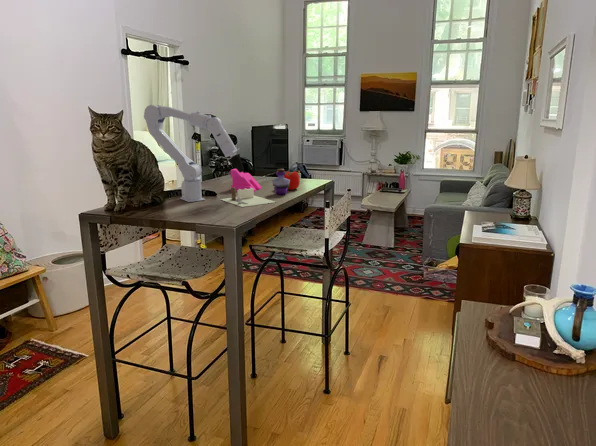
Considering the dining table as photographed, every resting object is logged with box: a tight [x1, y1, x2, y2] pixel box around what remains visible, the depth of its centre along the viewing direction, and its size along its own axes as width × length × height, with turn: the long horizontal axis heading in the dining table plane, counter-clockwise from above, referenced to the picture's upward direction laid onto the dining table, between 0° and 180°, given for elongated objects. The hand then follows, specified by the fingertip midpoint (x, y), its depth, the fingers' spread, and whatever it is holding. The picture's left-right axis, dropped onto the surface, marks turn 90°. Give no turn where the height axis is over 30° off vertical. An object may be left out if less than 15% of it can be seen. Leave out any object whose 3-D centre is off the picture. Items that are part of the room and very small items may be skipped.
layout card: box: [219, 194, 276, 208], centre depth 197 cm, size 19×17×1 cm
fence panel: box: [236, 188, 255, 199], centre depth 201 cm, size 8×1×4 cm, turn 127°
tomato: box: [284, 171, 301, 191], centre depth 226 cm, size 11×12×9 cm
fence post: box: [230, 187, 237, 200], centre depth 197 cm, size 2×2×6 cm
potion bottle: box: [271, 168, 290, 196], centre depth 212 cm, size 9×9×12 cm
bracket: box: [230, 168, 263, 193], centre depth 224 cm, size 12×10×10 cm
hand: (242, 171), depth 194 cm, fingers open, 7 cm apart
